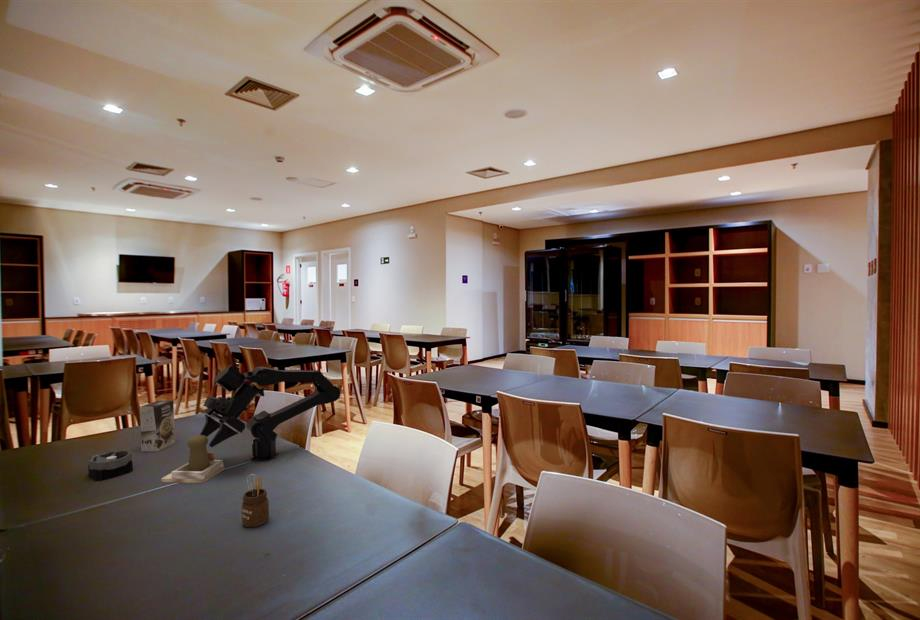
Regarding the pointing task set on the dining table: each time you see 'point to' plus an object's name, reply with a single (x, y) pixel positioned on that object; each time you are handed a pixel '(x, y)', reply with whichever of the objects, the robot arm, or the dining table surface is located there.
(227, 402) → the robot arm
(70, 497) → the dining table surface
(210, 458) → the wooden box
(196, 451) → the cork
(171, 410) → the coffee box
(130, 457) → the cpu cooler
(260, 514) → the utensil holder
